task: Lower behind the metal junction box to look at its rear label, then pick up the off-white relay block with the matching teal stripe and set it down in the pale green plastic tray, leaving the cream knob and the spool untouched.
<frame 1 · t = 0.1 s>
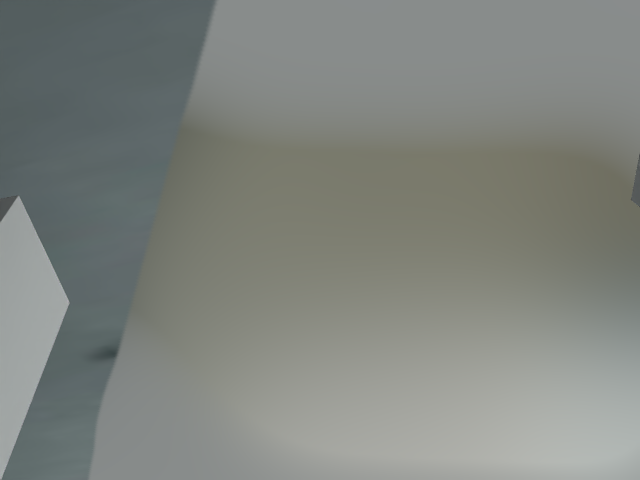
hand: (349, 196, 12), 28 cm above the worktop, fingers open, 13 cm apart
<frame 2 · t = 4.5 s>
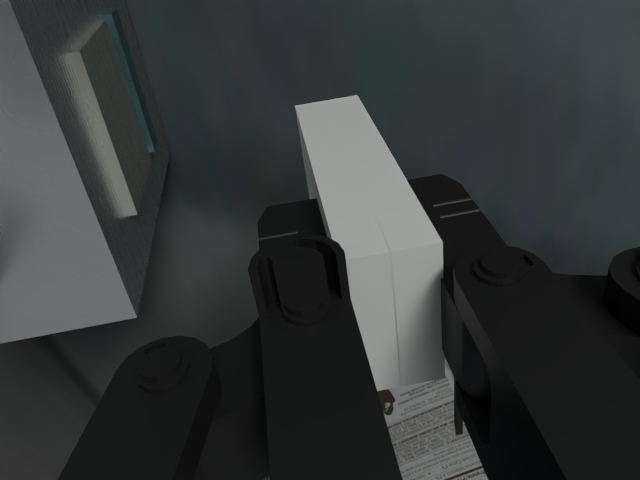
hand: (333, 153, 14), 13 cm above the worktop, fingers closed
junction box: (46, 70, 24), on the worktop
coffee box: (407, 390, 38), on the worktop
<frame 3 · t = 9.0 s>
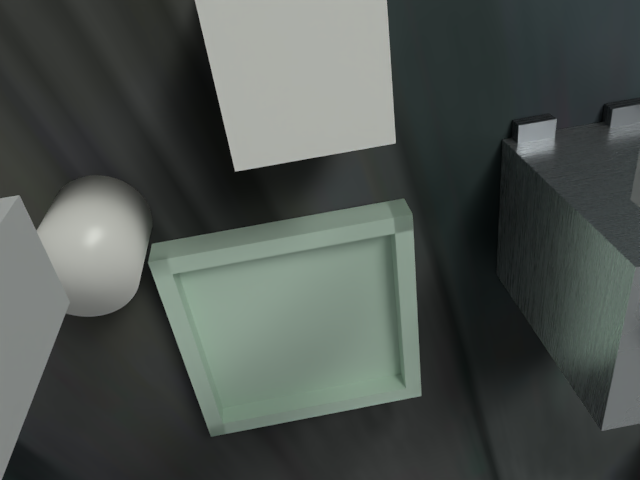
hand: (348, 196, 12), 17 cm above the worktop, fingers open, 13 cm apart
cream knob: (103, 218, 30), on the worktop
tray: (298, 317, 35), on the worktop
junction box: (566, 199, 33), on the worktop
relay block: (285, 26, 26), on the worktop
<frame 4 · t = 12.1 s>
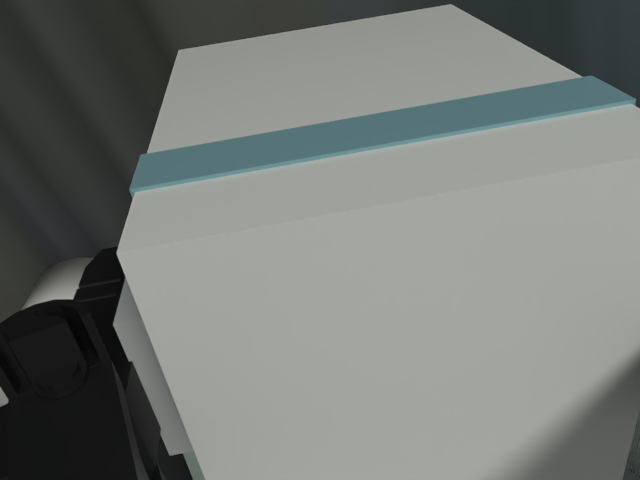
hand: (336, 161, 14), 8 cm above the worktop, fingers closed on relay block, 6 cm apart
cream knob: (93, 305, 25), on the worktop
tray: (323, 412, 30), on the worktop
relay block: (332, 153, 14), point 8 cm above the worktop, touching gripper
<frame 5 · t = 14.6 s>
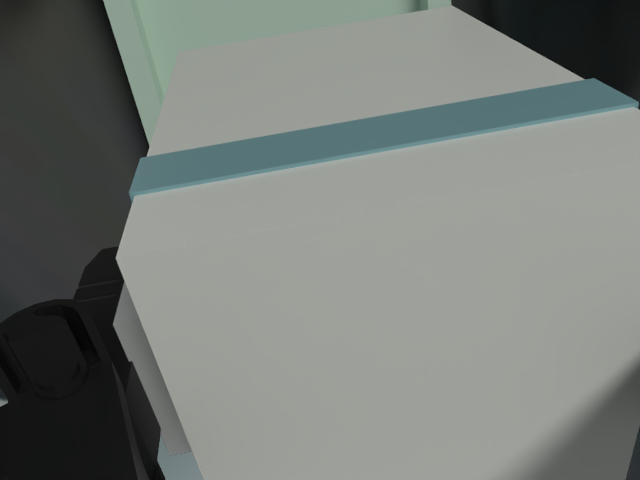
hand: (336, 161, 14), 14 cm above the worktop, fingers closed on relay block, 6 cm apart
tray: (285, 27, 26), on the worktop
relay block: (333, 155, 14), point 14 cm above the worktop, touching gripper
when the fingers open (1 cm above the worktop, at t = 17.1 s): relay block stays where it is, resting on tray.
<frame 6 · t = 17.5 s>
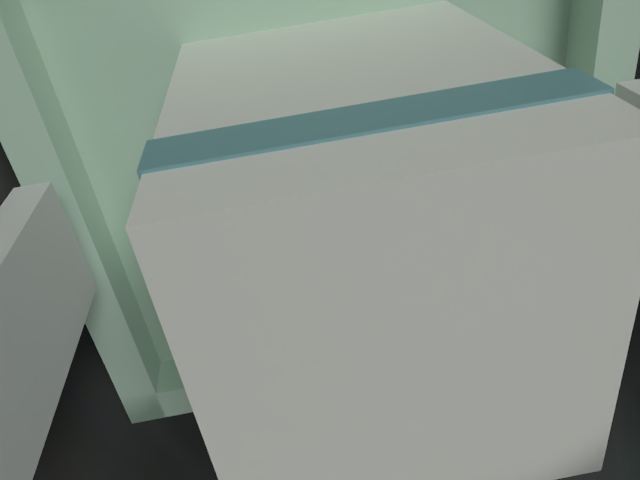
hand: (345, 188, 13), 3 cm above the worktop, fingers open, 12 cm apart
tray: (327, 139, 15), on the worktop
relay block: (330, 145, 14), resting on tray
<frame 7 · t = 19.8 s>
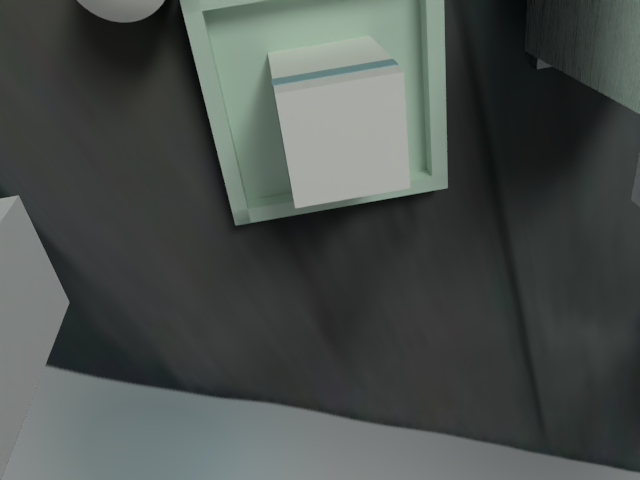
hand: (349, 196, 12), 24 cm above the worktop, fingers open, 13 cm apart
tray: (324, 93, 35), on the worktop
relay block: (325, 95, 35), resting on tray
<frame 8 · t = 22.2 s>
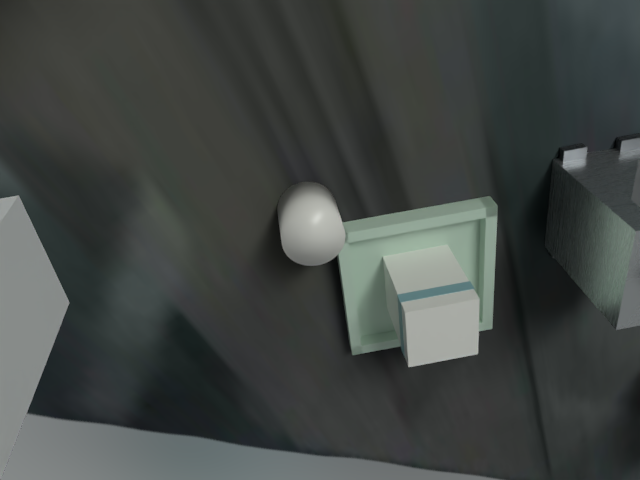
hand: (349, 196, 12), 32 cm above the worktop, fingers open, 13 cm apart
cream knob: (306, 208, 49), on the worktop
tray: (414, 274, 54), on the worktop
junction box: (591, 196, 52), on the worktop
relay block: (416, 276, 53), resting on tray
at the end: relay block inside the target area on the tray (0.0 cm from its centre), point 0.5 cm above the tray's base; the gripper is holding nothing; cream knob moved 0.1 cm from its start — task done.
